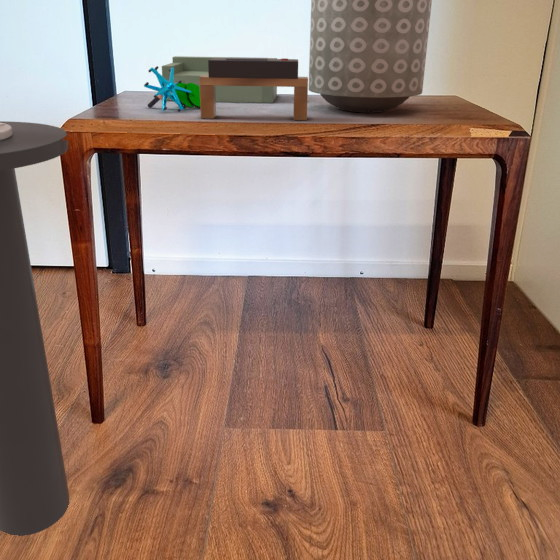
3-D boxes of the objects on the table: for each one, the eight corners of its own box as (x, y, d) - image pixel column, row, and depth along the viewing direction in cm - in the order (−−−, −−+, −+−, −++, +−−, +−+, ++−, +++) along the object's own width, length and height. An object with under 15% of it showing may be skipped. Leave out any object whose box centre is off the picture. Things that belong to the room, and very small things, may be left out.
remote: (208, 77, 86) (207, 58, 85) (212, 74, 91) (212, 56, 90) (297, 79, 86) (298, 59, 85) (297, 76, 91) (298, 57, 90)
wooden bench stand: (200, 118, 90) (199, 76, 87) (203, 115, 93) (202, 75, 90) (306, 120, 90) (308, 78, 87) (306, 117, 92) (307, 76, 90)
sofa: (272, 103, 108) (273, 61, 105) (163, 100, 108) (161, 59, 106) (276, 95, 118) (277, 58, 115) (177, 93, 119) (175, 56, 116)
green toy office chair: (157, 99, 91) (147, 55, 93) (132, 122, 96) (123, 79, 97) (216, 115, 100) (206, 74, 102) (191, 135, 104) (182, 96, 106)
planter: (430, 118, 93) (445, -11, 86) (309, 116, 93) (313, -13, 86) (409, 103, 110) (419, -6, 103) (306, 101, 111) (310, -7, 103)
